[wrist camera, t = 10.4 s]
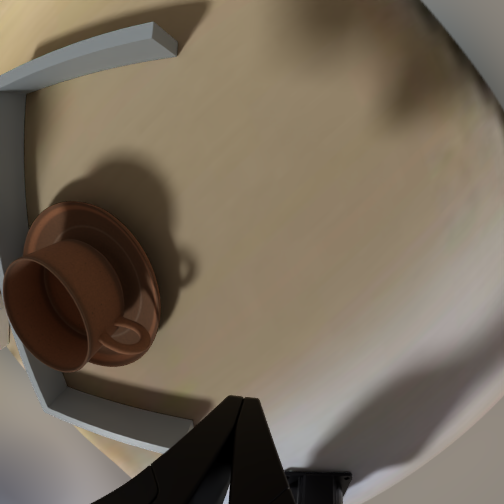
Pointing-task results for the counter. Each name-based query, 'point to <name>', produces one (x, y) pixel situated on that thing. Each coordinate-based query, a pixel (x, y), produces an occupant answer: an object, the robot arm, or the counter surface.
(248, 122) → the counter surface
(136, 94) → the counter surface
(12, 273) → the cup and saucer
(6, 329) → the milk
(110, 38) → the u-shaped low fence
